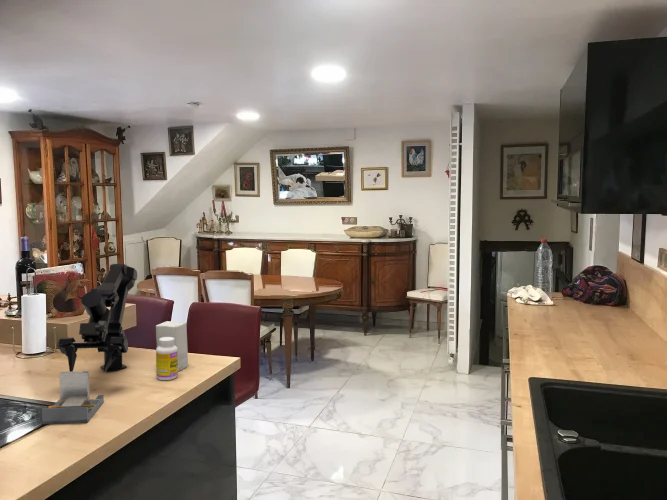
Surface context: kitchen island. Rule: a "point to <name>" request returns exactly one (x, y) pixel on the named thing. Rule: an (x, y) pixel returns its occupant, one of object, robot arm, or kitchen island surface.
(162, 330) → the skincare box
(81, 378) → the block
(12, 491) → the kitchen island surface
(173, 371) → the supplement bottle
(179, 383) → the kitchen island surface
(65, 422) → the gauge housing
